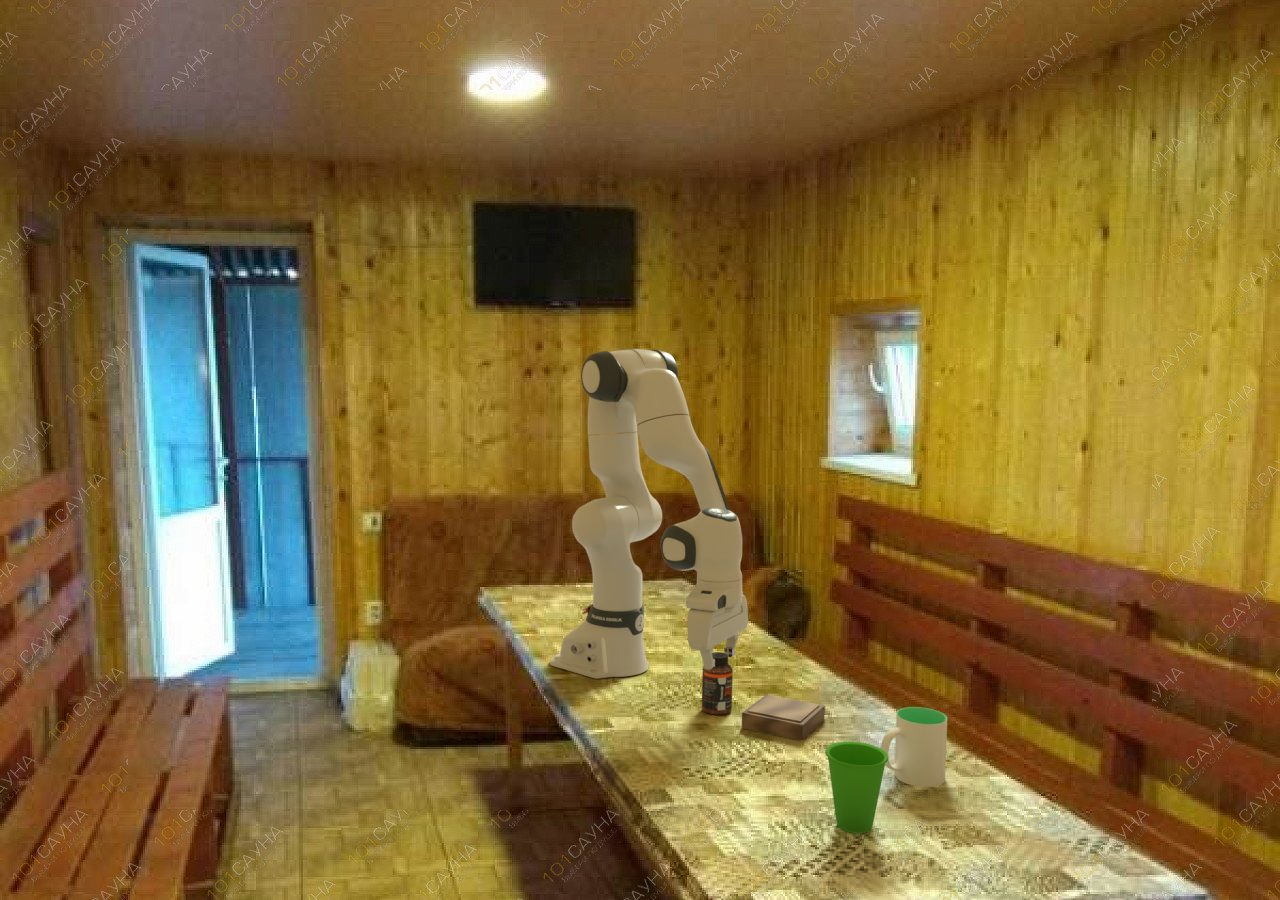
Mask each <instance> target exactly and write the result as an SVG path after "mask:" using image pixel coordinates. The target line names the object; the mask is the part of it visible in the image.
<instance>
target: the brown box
mask: <svg viewBox="0 0 1280 900" xmlns="http://www.w3.org/2000/svg"><path fill="white" fill-rule="evenodd" d="M825 711H826V705H824V704H818V703H813V702H808V701H803V700H798V699H792V698H788V697H782V696H776V695H772V694H765V695H764V696H762V697H761V698H760V699H758V700H757V701H755V702H754V703H753V704H752V705H751V706H748V708H746V709H745V710H743V711H742V712H741V729H744V730H749V731H753V732H756V733H757V732H758V733H763V734H768V735H772V736H777V737H781V738H787V739H790V740H791V739H792V740H796V741H800V742H803V741H804V740H805V739H807V738H808V737H809V736H810V735H811V734H812V733H813V732H815V730H816V729H817V728H819V726H820V725H822V724H823V723H824V722H825V715H826V714H825Z"/></svg>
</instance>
